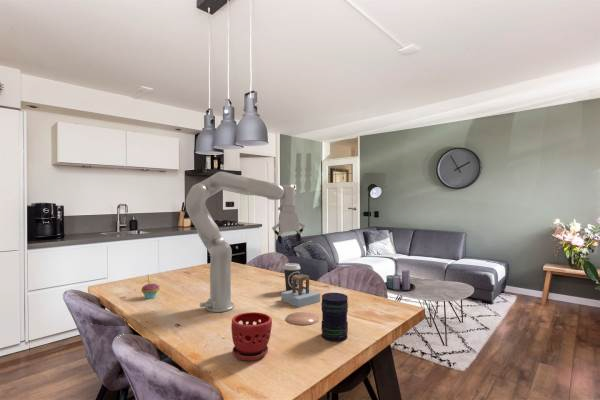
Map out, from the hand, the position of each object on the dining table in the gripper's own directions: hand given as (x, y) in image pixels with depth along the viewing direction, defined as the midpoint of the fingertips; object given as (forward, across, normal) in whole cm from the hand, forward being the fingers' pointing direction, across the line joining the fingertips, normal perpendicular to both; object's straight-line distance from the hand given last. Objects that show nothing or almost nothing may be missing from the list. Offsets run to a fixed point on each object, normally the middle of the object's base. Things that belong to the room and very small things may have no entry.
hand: (289, 242), depth 162 cm
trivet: (+29, -4, -27) cm, 40 cm away
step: (+29, +4, -4) cm, 30 cm away
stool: (+25, +4, -4) cm, 26 cm away
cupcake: (+27, -68, +28) cm, 78 cm away
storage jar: (+30, +1, -47) cm, 56 cm away
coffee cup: (+30, +5, +13) cm, 33 cm away
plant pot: (+28, -31, -50) cm, 65 cm away
